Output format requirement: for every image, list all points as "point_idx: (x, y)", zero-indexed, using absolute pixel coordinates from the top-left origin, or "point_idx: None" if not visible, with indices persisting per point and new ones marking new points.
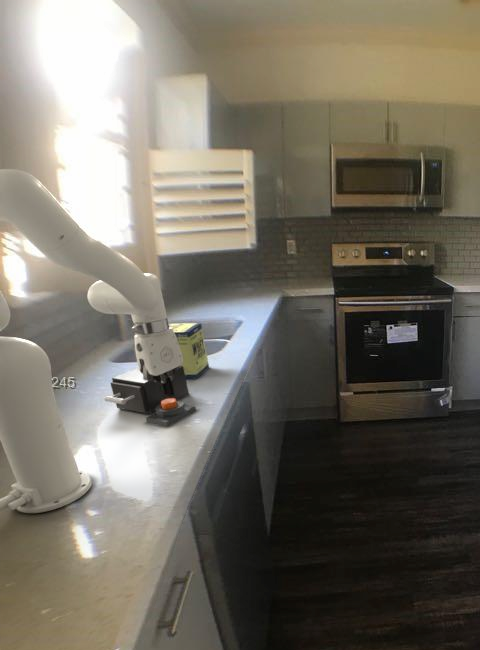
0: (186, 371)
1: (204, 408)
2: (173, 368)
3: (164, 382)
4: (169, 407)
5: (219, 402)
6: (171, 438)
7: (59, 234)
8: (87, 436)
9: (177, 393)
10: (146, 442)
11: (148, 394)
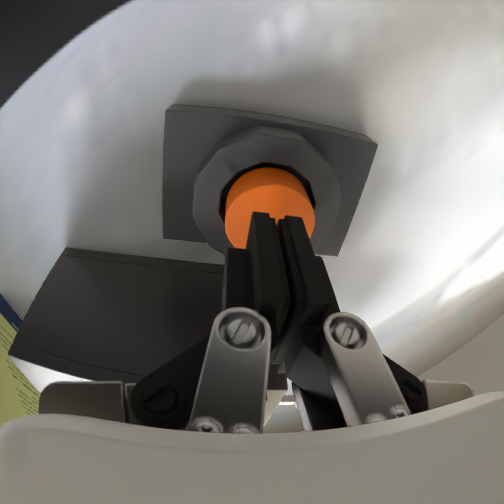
0: (6, 332)
1: (135, 83)
2: (245, 436)
3: (335, 323)
4: (303, 188)
5: (61, 67)
6: (447, 74)
7: None
8: (398, 325)
9: (103, 275)
10: (466, 154)
11: None
